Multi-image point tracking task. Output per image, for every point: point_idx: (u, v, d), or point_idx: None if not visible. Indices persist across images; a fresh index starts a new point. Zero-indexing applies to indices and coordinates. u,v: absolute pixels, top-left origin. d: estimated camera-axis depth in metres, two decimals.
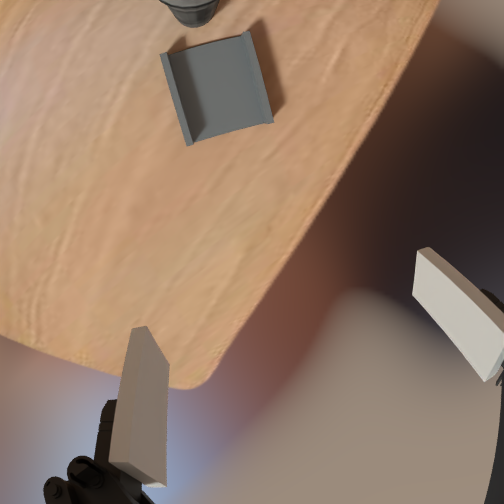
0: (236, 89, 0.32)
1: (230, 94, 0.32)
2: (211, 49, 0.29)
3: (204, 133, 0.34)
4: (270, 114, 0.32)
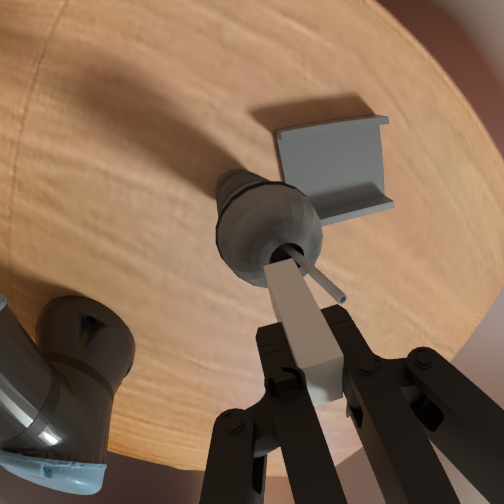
0: (342, 147, 0.30)
1: (346, 154, 0.30)
2: (291, 171, 0.30)
3: (379, 184, 0.32)
4: (380, 119, 0.26)
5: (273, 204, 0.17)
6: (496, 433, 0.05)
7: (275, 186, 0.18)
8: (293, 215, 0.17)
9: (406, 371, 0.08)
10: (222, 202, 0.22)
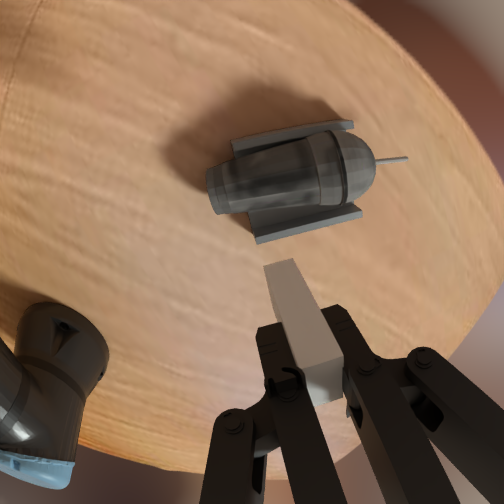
0: None
1: None
2: None
3: None
4: (343, 123, 0.26)
5: None
6: (496, 433, 0.05)
7: None
8: None
9: (406, 370, 0.08)
10: (295, 151, 0.24)
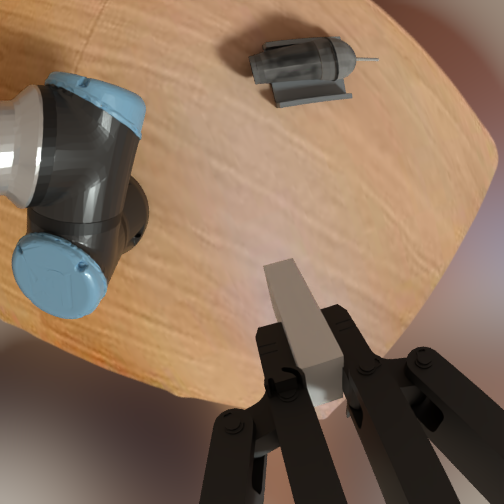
0: None
1: None
2: None
3: (340, 85, 0.41)
4: (334, 37, 0.35)
5: None
6: (496, 433, 0.05)
7: None
8: None
9: (406, 371, 0.08)
10: (305, 44, 0.33)
